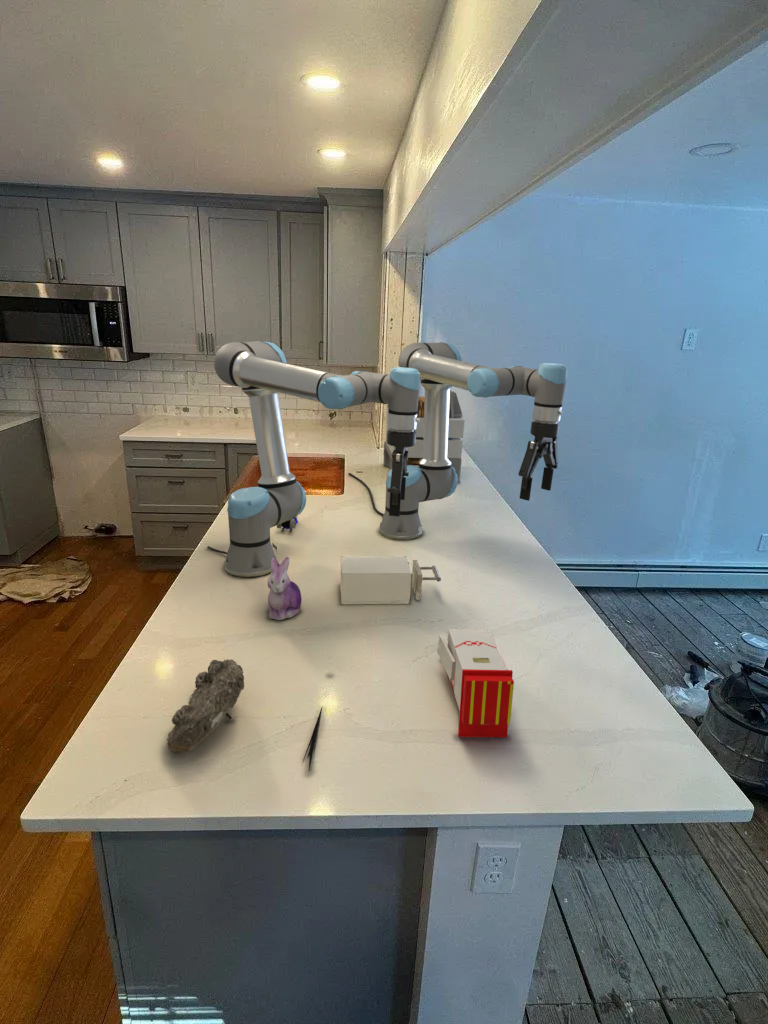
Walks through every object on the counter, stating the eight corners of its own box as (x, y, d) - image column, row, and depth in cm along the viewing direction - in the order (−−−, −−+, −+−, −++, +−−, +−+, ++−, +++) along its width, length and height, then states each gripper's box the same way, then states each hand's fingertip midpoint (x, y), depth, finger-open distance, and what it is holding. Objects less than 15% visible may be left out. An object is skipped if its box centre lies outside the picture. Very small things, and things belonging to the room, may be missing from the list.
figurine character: (295, 538, 195) (300, 518, 208) (295, 519, 192) (300, 500, 205) (276, 538, 195) (282, 518, 208) (275, 518, 191) (281, 499, 205)
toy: (488, 613, 130) (523, 677, 101) (484, 667, 133) (517, 744, 104) (435, 612, 130) (455, 676, 101) (432, 666, 133) (451, 743, 103)
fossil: (192, 660, 117) (244, 628, 112) (224, 691, 120) (276, 661, 115) (142, 746, 98) (202, 712, 93) (182, 779, 101) (242, 748, 96)
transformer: (382, 463, 289) (386, 382, 275) (445, 464, 293) (451, 384, 279) (390, 482, 257) (394, 392, 243) (460, 483, 261) (468, 394, 247)
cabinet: (404, 585, 163) (406, 556, 160) (409, 603, 153) (411, 573, 150) (340, 585, 161) (341, 555, 158) (341, 604, 151) (341, 573, 148)
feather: (331, 679, 122) (336, 673, 122) (307, 777, 96) (313, 769, 95) (324, 675, 122) (329, 669, 121) (298, 772, 95) (304, 764, 95)
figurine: (272, 625, 139) (271, 570, 134) (261, 606, 148) (259, 553, 143) (309, 617, 144) (308, 563, 139) (295, 599, 152) (295, 548, 147)
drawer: (433, 583, 163) (435, 559, 160) (440, 599, 154) (442, 575, 151) (355, 583, 161) (356, 559, 158) (357, 600, 152) (357, 575, 149)
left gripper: (412, 441, 134) (406, 524, 141) (419, 421, 157) (414, 494, 165) (381, 438, 135) (377, 521, 142) (392, 419, 158) (388, 491, 165)
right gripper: (538, 429, 145) (527, 507, 153) (576, 418, 163) (565, 488, 171) (511, 424, 150) (502, 500, 157) (552, 414, 168) (542, 482, 175)
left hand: (397, 507), depth 153 cm, fingers open, 13 cm apart
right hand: (535, 494), depth 164 cm, fingers open, 13 cm apart
